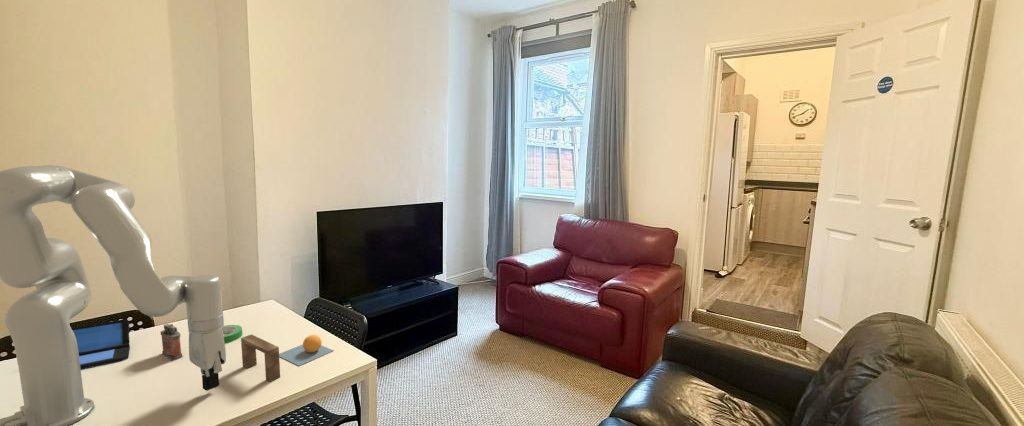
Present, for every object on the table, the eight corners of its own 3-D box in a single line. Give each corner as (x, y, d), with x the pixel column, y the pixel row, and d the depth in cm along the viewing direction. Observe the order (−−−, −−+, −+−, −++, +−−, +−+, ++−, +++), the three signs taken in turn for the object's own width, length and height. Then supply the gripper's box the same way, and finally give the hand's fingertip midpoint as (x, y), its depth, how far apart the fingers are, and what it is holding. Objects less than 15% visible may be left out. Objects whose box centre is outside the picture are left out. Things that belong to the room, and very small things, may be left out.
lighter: (159, 354, 132) (156, 324, 130) (172, 350, 135) (169, 320, 133) (172, 361, 128) (169, 330, 126) (185, 356, 131) (182, 326, 129)
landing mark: (298, 366, 127) (298, 365, 127) (276, 355, 133) (276, 354, 133) (333, 351, 137) (333, 350, 137) (311, 341, 143) (311, 340, 143)
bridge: (269, 381, 119) (268, 351, 117) (242, 366, 126) (240, 337, 125) (280, 376, 121) (278, 347, 120) (253, 362, 128) (251, 334, 127)
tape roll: (207, 334, 147) (207, 327, 147) (244, 329, 152) (244, 322, 151) (200, 347, 137) (199, 340, 137) (239, 342, 142) (239, 335, 141)
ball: (322, 354, 136) (307, 354, 132) (312, 350, 139) (297, 350, 135) (327, 337, 137) (312, 336, 133) (317, 333, 140) (302, 332, 136)
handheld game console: (53, 376, 118) (49, 345, 117) (62, 357, 128) (58, 329, 127) (128, 360, 128) (125, 331, 127) (131, 344, 138) (128, 317, 137)
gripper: (176, 320, 110) (181, 385, 113) (203, 334, 103) (208, 403, 105) (208, 311, 117) (213, 373, 119) (236, 324, 109) (240, 389, 112)
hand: (211, 387), depth 112 cm, fingers closed
